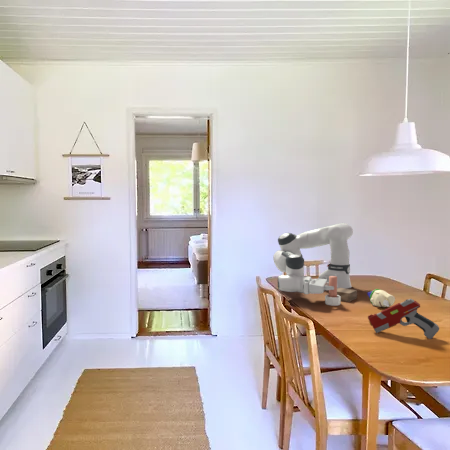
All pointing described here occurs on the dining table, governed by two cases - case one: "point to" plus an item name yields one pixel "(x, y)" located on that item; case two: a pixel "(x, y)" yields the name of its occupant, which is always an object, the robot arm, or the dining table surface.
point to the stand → (347, 294)
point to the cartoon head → (381, 298)
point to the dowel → (333, 283)
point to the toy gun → (400, 311)
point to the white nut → (332, 300)
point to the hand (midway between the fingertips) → (334, 286)
